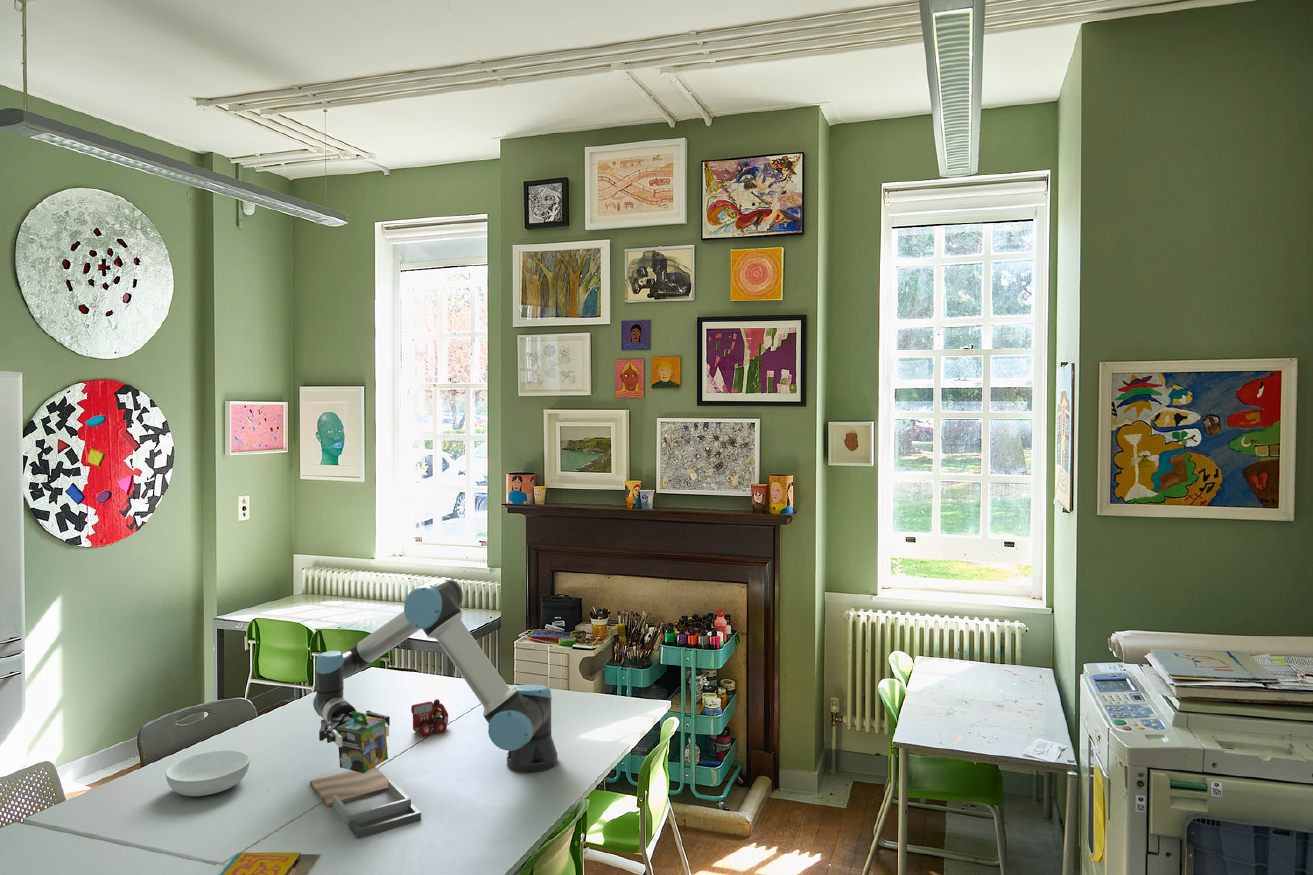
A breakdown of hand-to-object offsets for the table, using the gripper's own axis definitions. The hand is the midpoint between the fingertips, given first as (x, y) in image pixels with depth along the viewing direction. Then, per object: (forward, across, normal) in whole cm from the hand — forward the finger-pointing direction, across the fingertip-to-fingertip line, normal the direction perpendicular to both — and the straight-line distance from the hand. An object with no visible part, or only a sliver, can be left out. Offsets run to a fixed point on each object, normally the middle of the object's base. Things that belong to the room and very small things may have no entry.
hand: (364, 736), depth 223 cm
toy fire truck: (-40, -35, -19) cm, 56 cm away
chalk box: (-3, 0, -8) cm, 9 cm away
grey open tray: (+7, -1, -18) cm, 20 cm away
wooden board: (-14, -1, -18) cm, 23 cm away
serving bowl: (-38, +31, -19) cm, 52 cm away
